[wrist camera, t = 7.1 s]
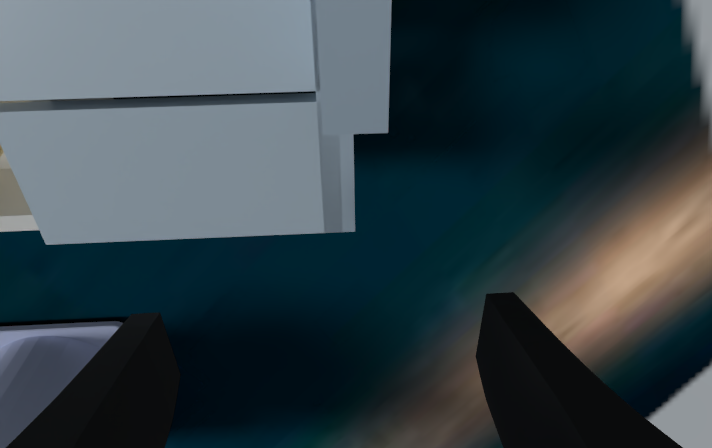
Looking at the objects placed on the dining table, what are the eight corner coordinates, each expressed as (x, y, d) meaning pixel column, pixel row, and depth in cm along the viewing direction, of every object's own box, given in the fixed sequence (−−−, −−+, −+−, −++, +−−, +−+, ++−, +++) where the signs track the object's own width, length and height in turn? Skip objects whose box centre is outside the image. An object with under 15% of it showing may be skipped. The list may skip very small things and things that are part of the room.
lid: (371, 218, 17) (383, 301, 13) (55, 231, 16) (-12, 320, 13) (376, -421, 9) (407, -598, 6) (-229, -425, 9) (-579, -619, 5)
